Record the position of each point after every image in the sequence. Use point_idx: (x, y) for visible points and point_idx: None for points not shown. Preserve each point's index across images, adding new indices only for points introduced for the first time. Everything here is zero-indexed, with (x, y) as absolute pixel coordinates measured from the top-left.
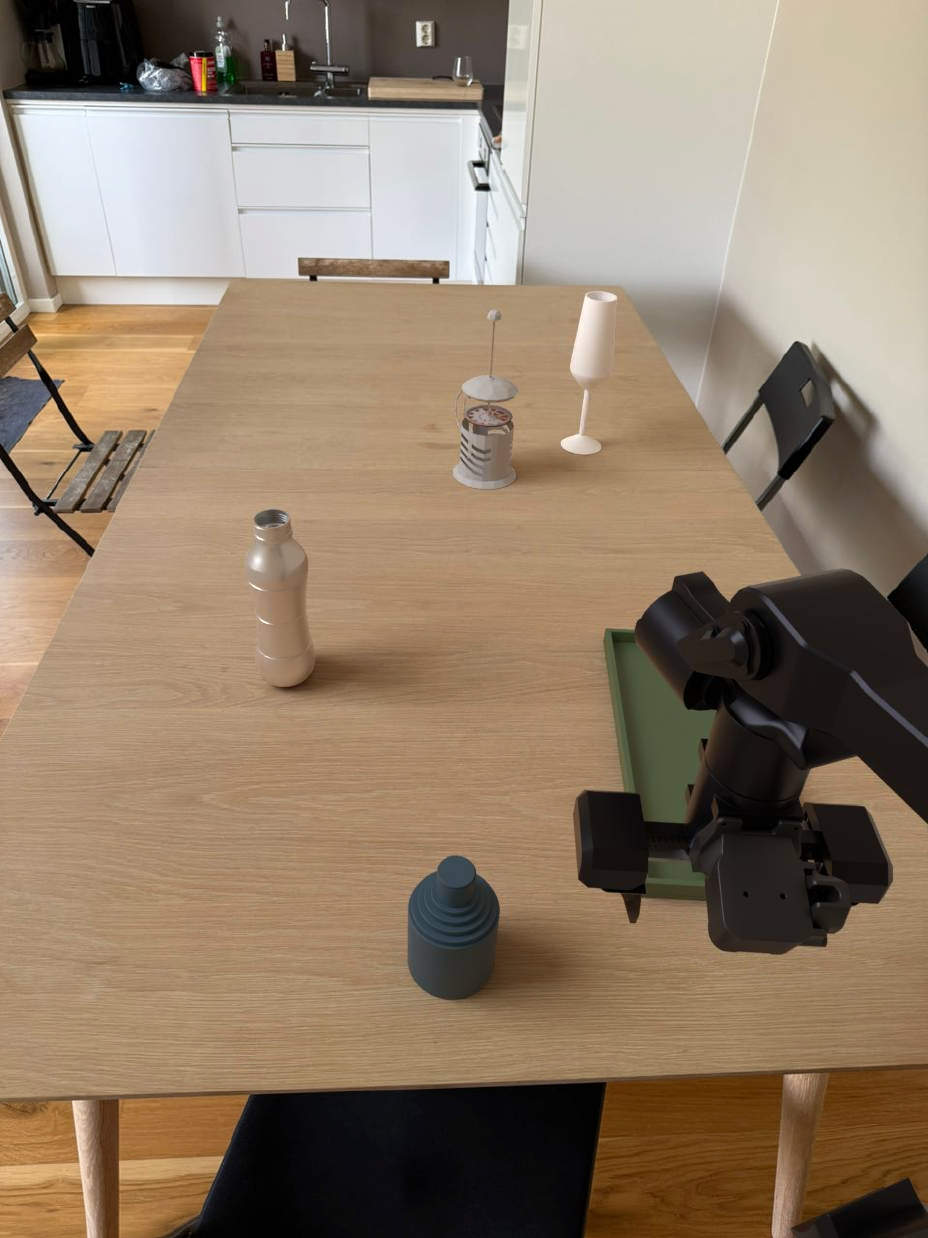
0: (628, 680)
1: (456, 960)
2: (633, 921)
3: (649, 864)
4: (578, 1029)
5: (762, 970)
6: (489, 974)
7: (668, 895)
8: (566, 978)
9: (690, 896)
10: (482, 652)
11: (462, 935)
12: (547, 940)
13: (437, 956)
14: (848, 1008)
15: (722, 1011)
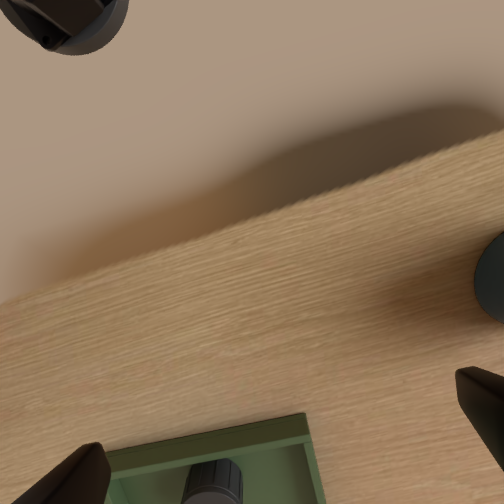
0: None
1: None
2: (477, 373)
3: (297, 456)
4: (362, 231)
5: (155, 361)
6: (485, 265)
7: (271, 423)
8: (382, 289)
9: (245, 429)
10: None
11: None
12: (409, 330)
13: None
14: (58, 343)
15: (196, 300)
